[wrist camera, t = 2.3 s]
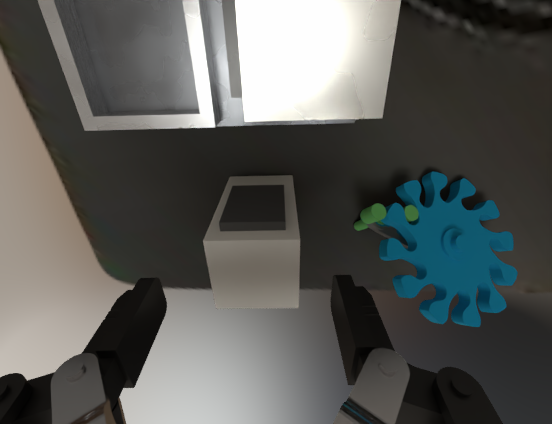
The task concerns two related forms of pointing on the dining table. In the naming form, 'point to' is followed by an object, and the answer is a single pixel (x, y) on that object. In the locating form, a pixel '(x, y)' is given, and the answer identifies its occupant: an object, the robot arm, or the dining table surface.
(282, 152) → the dining table surface
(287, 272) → the block
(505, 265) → the blue spiky virus toy
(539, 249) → the dining table surface
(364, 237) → the dining table surface
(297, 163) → the dining table surface
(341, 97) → the base with upright block
